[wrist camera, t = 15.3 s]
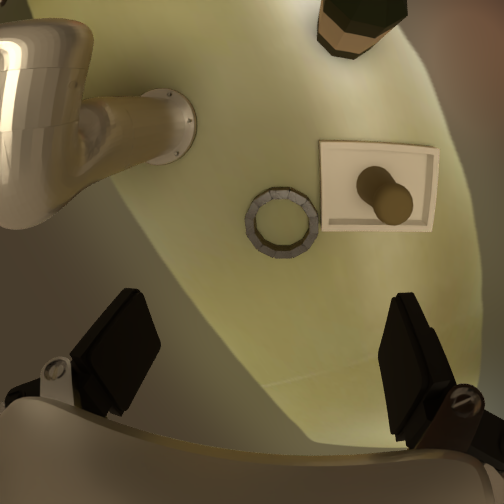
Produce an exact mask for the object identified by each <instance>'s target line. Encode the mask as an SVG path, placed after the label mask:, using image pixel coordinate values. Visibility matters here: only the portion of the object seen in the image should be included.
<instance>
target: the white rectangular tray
mask: <svg viewBox="0 0 504 504" xmlns="http://www.w3.org/2000/svg"><path fill="white" fill-rule="evenodd" d="M439 151H440V149H439V148H435V147H432V146H425V145H415V144H404V143H391V142H375V141H349V140H319V156H320V193H321V229H322V231H405V232H432V227H433V220H434V213H435V205H436V196H437V185H438V172H439ZM371 166H380V167H382V168H384V169H386V170H387V171H388V172H389V173H390V174H391V176H392V177H393V179H394V180H395V182H396V183H398V184H400V185H402V186H404V187H405V188H406V189H407V190H408V191H409V192H410V194H411V196H412V199H413V211H412V213H411V215H410V217H409V218H408V219H407V220H406V221H405V222H404V223H402V224H400V225H396V226H391V225H387V224H385V223H383V222H381V221H380V220H379V219H378V218H377V216H376V214H375V213H374V210H373V207H371V206H370V205H369V204H367V203H366V202H365V201H363V200H362V199H361V198H360V196H359V195H358V193H357V189H356V182H357V179H358V176H359V174H360V173H361V172H362V171H363V170H364V169H366V168H368V167H371Z"/></svg>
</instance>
